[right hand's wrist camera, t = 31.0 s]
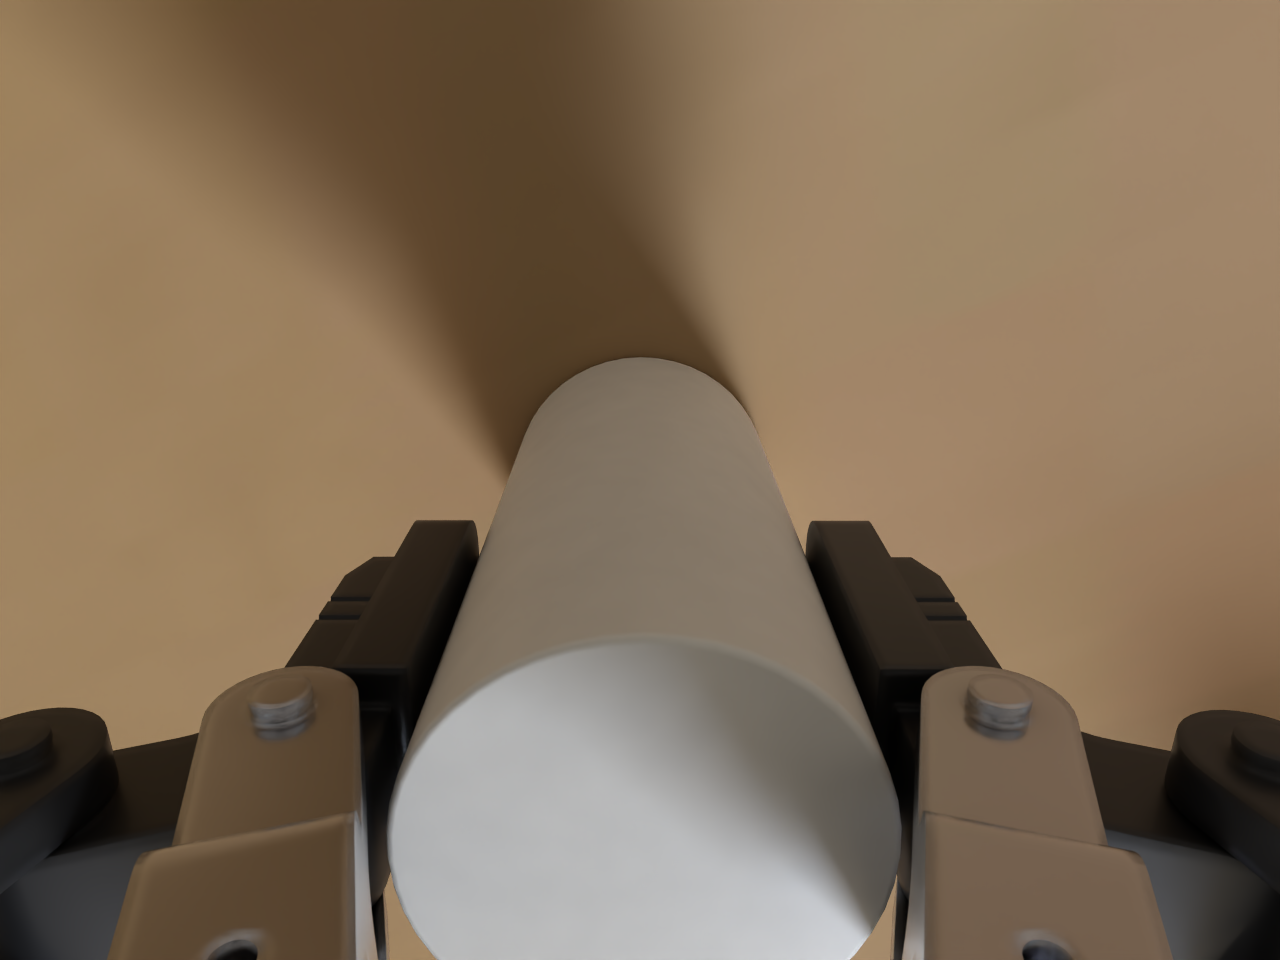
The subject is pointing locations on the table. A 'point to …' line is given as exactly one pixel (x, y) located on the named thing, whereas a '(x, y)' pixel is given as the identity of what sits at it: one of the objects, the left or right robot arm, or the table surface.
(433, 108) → the table surface
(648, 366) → the canister
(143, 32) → the table surface
